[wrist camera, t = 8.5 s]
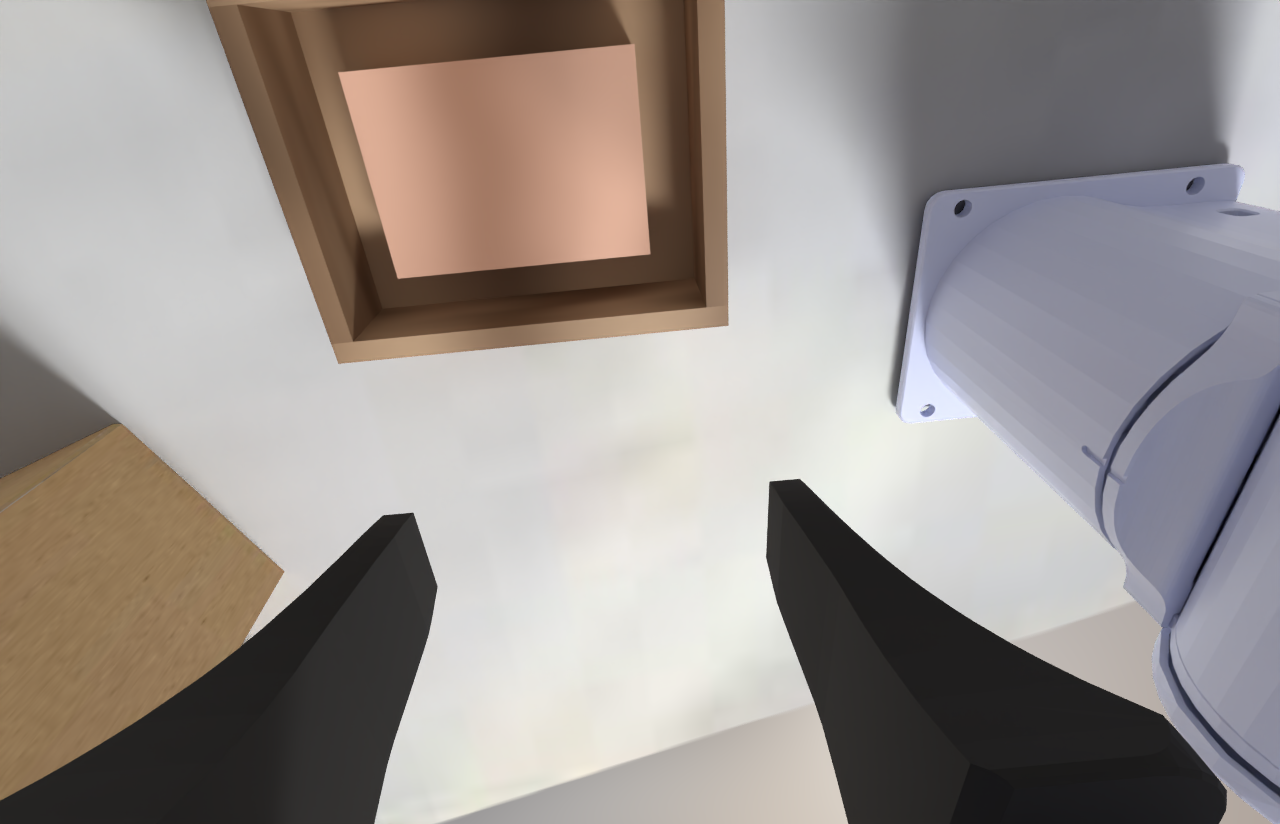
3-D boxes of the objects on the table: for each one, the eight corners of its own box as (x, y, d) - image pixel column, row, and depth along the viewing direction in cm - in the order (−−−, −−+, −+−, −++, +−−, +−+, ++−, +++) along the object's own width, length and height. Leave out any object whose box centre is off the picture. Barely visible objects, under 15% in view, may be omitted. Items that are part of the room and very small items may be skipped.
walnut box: (703, -56, 15) (723, -79, 13) (712, 290, 20) (728, 325, 17) (264, -13, 15) (195, -28, 13) (372, 323, 20) (338, 363, 17)
